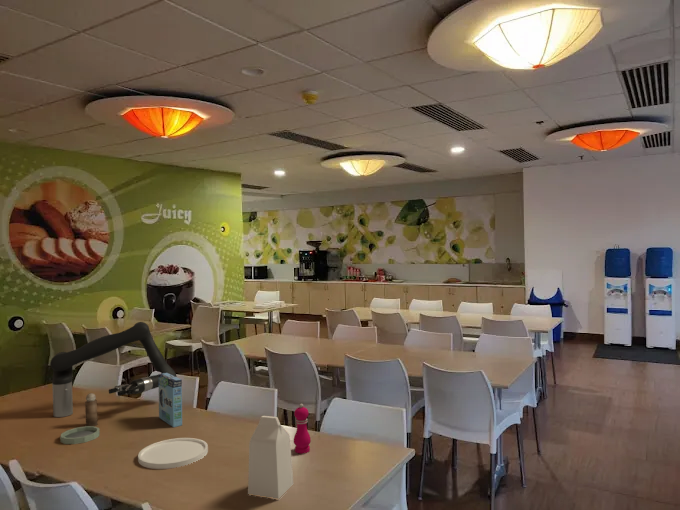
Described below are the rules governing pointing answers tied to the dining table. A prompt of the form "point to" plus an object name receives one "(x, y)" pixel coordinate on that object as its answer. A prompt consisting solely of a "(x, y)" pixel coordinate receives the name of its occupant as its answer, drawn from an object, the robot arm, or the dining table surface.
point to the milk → (270, 459)
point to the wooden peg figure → (91, 410)
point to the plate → (172, 453)
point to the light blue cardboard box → (170, 399)
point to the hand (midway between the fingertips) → (113, 392)
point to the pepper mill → (302, 431)
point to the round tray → (79, 435)
